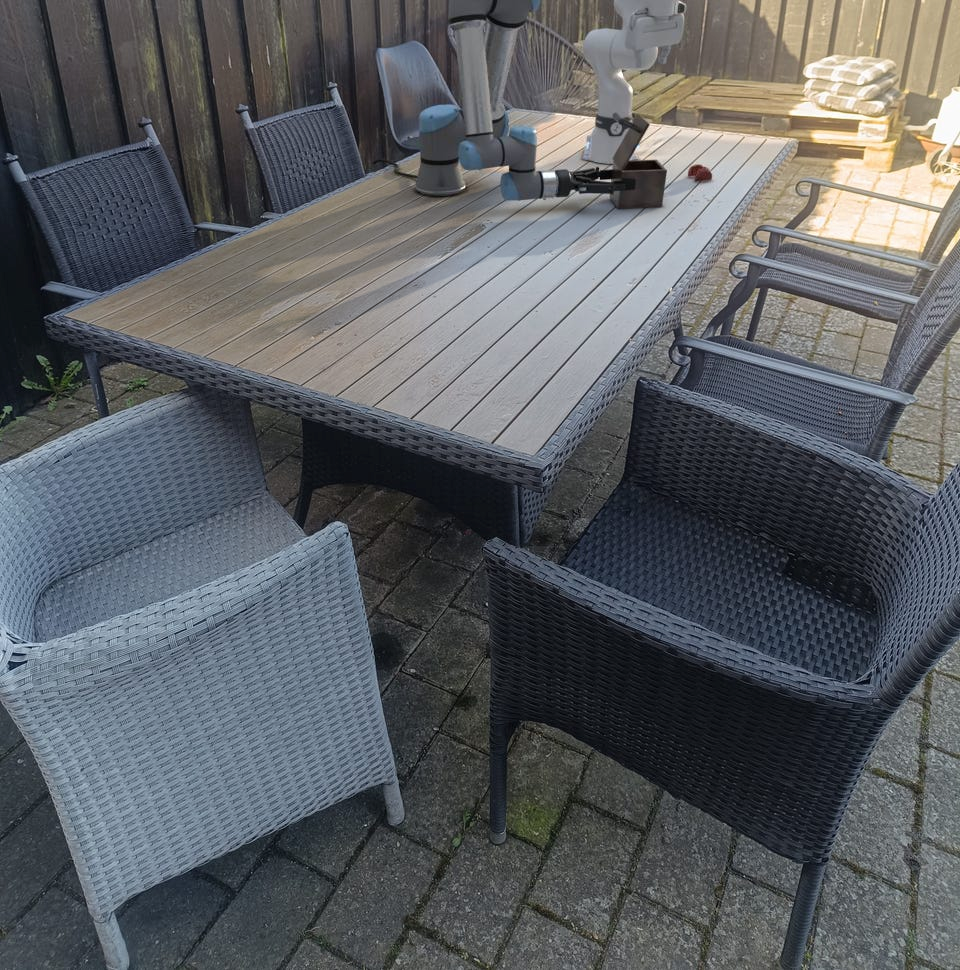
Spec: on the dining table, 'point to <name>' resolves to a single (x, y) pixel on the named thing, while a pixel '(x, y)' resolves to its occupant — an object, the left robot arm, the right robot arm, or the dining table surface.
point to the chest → (640, 184)
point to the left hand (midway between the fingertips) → (627, 179)
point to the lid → (629, 139)
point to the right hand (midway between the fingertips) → (651, 65)
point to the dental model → (700, 173)
